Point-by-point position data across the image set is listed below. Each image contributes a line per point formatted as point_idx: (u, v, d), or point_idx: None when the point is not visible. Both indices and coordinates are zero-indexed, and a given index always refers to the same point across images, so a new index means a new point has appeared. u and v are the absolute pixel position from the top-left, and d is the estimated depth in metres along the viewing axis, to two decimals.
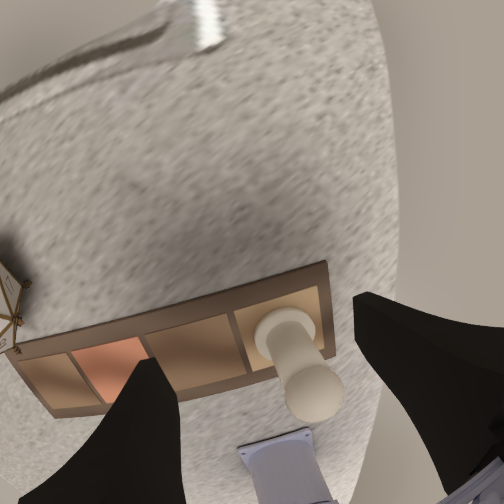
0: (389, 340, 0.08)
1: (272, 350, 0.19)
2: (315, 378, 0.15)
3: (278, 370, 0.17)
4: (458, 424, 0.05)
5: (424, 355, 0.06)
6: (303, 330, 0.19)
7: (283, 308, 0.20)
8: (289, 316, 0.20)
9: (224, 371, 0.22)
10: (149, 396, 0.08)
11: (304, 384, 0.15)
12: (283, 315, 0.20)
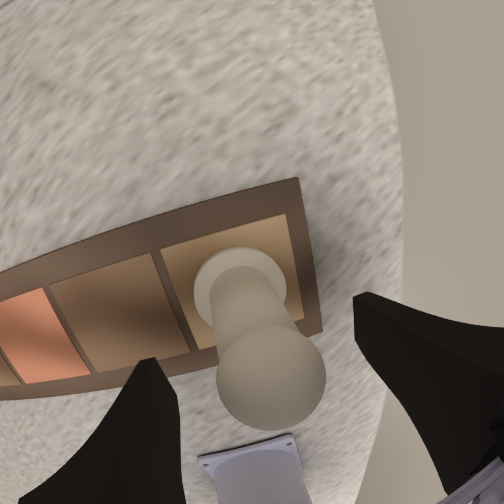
0: (389, 340, 0.08)
1: (212, 307, 0.12)
2: (265, 343, 0.08)
3: (215, 337, 0.11)
4: (458, 424, 0.05)
5: (424, 355, 0.06)
6: (263, 278, 0.13)
7: (234, 247, 0.14)
8: (242, 258, 0.13)
9: (158, 347, 0.15)
10: (150, 397, 0.08)
11: (243, 354, 0.08)
12: (232, 256, 0.13)
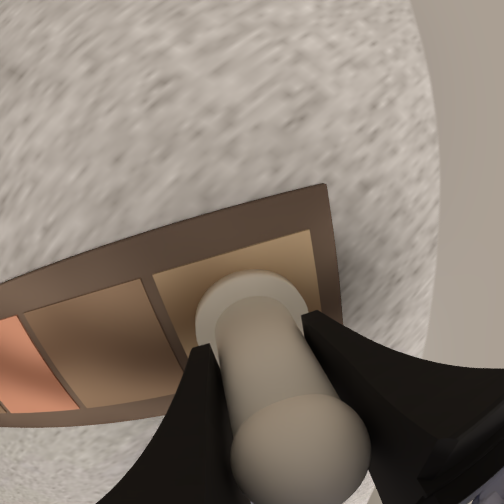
0: (331, 365, 0.08)
1: (220, 352, 0.09)
2: (300, 429, 0.05)
3: (225, 395, 0.08)
4: (392, 465, 0.05)
5: (359, 387, 0.06)
6: (283, 313, 0.10)
7: (246, 272, 0.11)
8: (256, 286, 0.11)
9: (154, 384, 0.12)
10: (213, 382, 0.08)
11: (270, 443, 0.05)
12: (244, 284, 0.10)
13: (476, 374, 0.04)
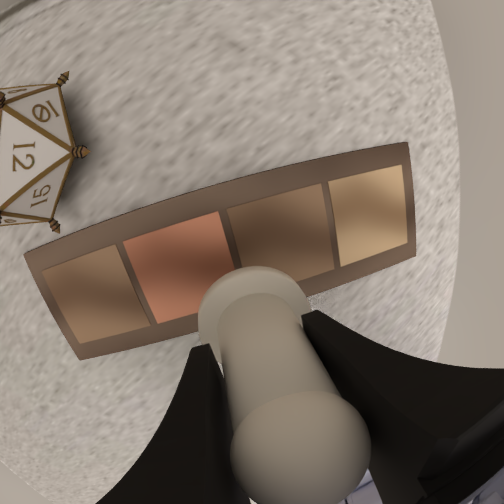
0: (331, 365, 0.08)
1: (221, 348, 0.09)
2: (300, 425, 0.05)
3: (226, 391, 0.08)
4: (392, 465, 0.05)
5: (359, 387, 0.06)
6: (286, 310, 0.10)
7: (248, 269, 0.11)
8: (259, 283, 0.11)
9: (311, 265, 0.20)
10: (212, 382, 0.08)
11: (270, 439, 0.05)
12: (247, 281, 0.10)
13: (476, 374, 0.04)
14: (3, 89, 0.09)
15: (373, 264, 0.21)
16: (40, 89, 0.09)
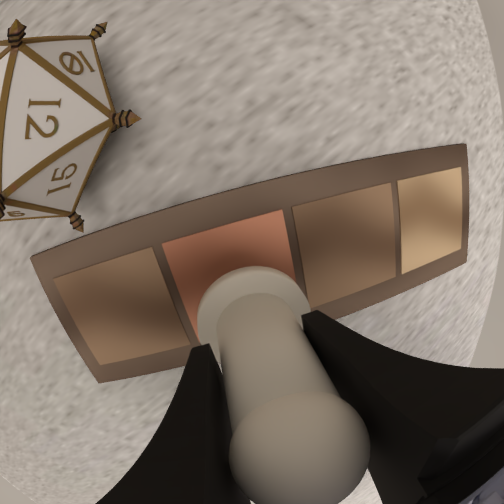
0: (331, 365, 0.08)
1: (221, 348, 0.09)
2: (299, 425, 0.05)
3: (225, 391, 0.08)
4: (392, 465, 0.05)
5: (359, 387, 0.06)
6: (285, 311, 0.10)
7: (248, 269, 0.11)
8: (258, 283, 0.11)
9: (374, 272, 0.17)
10: (212, 382, 0.08)
11: (268, 440, 0.05)
12: (246, 281, 0.10)
13: (476, 374, 0.04)
14: None
15: (430, 271, 0.18)
16: (70, 37, 0.06)
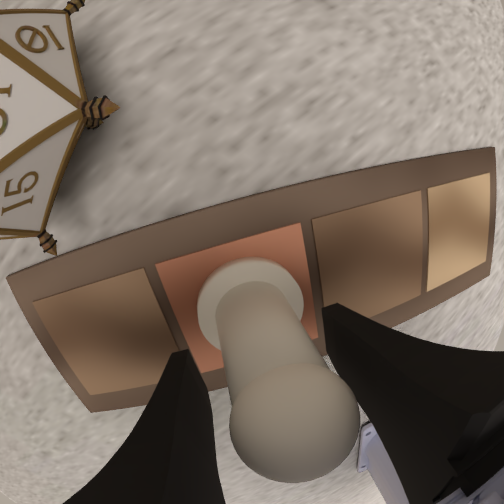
0: (354, 355, 0.08)
1: (220, 332, 0.10)
2: (293, 390, 0.06)
3: (225, 369, 0.09)
4: (419, 449, 0.05)
5: (386, 375, 0.06)
6: (279, 296, 0.11)
7: (244, 259, 0.12)
8: (254, 272, 0.11)
9: (399, 291, 0.14)
10: (188, 388, 0.08)
11: (266, 404, 0.06)
12: (243, 269, 0.11)
13: (498, 356, 0.04)
14: None
15: (454, 287, 0.16)
16: (36, 9, 0.04)
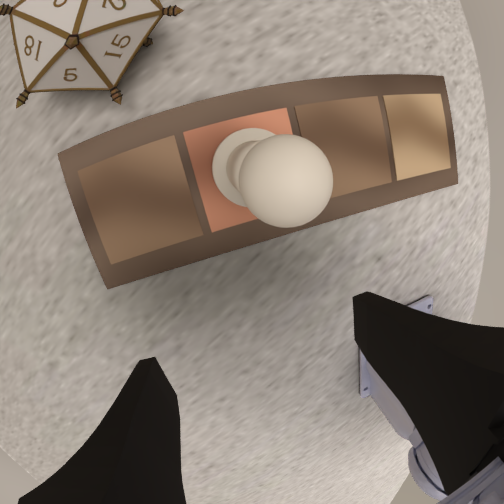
0: (389, 340, 0.08)
1: (230, 163, 0.14)
2: (280, 135, 0.10)
3: (234, 172, 0.13)
4: (458, 424, 0.05)
5: (424, 355, 0.06)
6: None
7: None
8: (254, 133, 0.15)
9: (372, 174, 0.18)
10: (150, 397, 0.08)
11: (263, 142, 0.10)
12: (246, 131, 0.15)
13: None
14: None
15: (424, 184, 0.19)
16: None
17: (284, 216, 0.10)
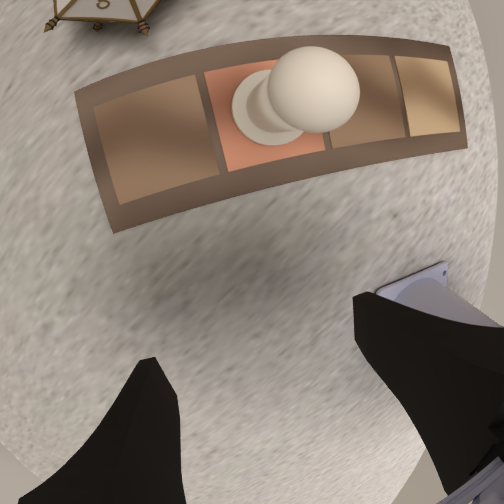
0: (389, 340, 0.08)
1: (252, 94, 0.13)
2: (308, 47, 0.09)
3: (259, 93, 0.12)
4: (458, 424, 0.05)
5: (424, 355, 0.06)
6: None
7: None
8: None
9: (386, 127, 0.17)
10: (150, 396, 0.08)
11: (292, 50, 0.09)
12: (266, 72, 0.14)
13: None
14: None
15: (435, 143, 0.18)
16: None
17: (316, 110, 0.09)
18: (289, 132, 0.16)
